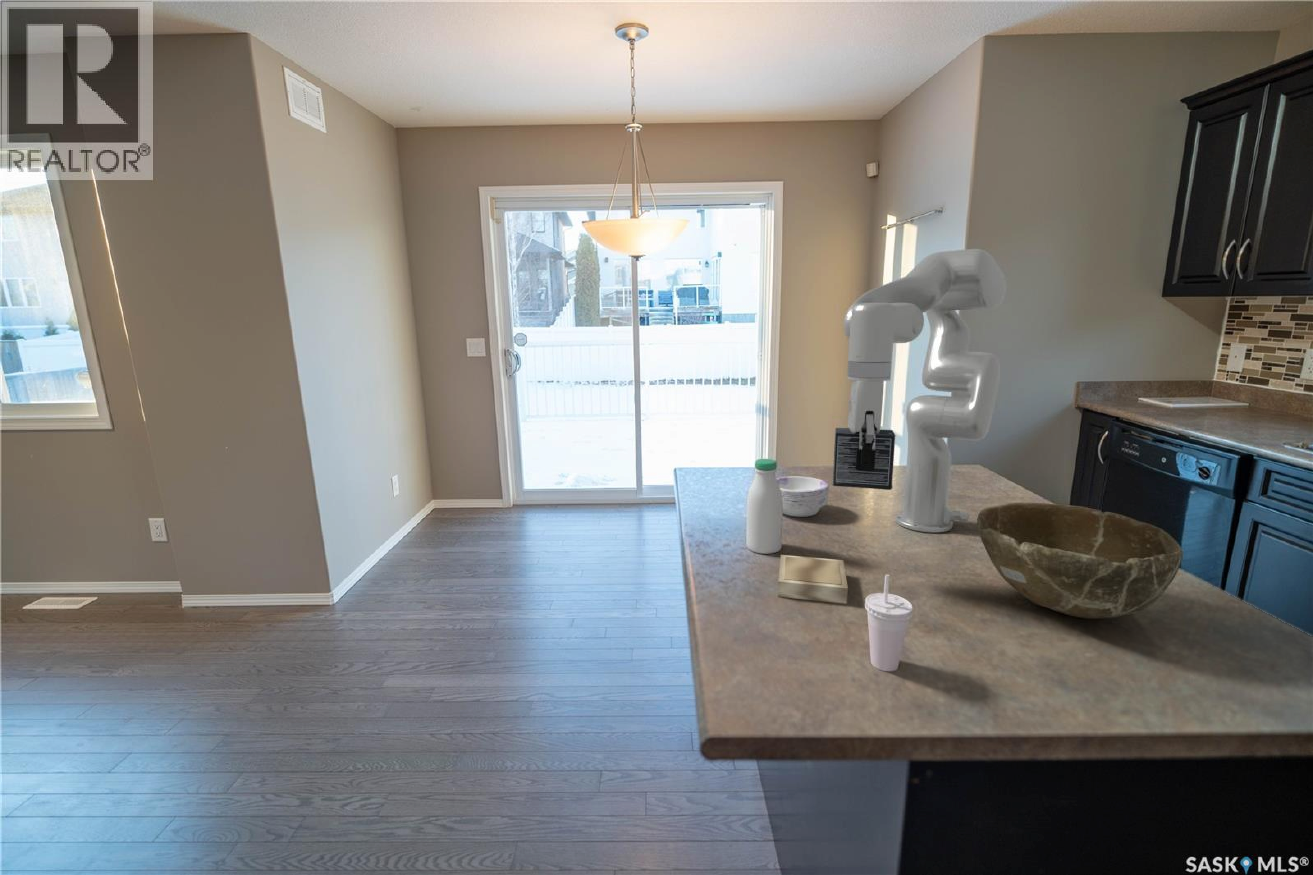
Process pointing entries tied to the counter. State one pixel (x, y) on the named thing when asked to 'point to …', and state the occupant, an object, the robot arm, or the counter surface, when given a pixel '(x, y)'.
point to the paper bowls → (802, 495)
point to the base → (812, 579)
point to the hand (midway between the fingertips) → (862, 465)
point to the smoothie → (887, 627)
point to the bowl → (1079, 557)
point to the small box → (846, 460)
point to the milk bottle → (764, 510)
